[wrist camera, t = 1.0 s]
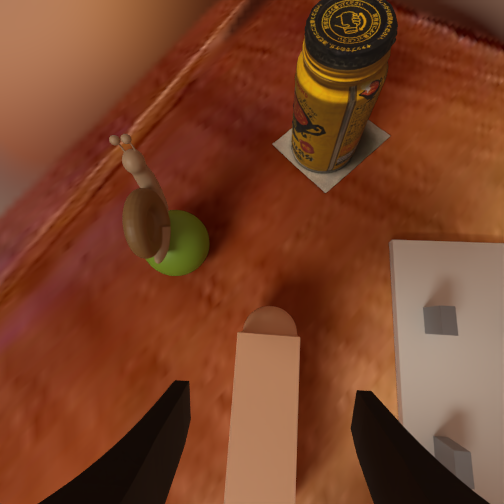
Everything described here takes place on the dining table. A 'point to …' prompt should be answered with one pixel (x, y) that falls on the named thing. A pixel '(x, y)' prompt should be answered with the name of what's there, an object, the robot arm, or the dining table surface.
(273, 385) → the block
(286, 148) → the condiment
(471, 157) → the dining table surface
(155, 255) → the snail figurine
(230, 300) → the dining table surface
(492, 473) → the cradle jig
